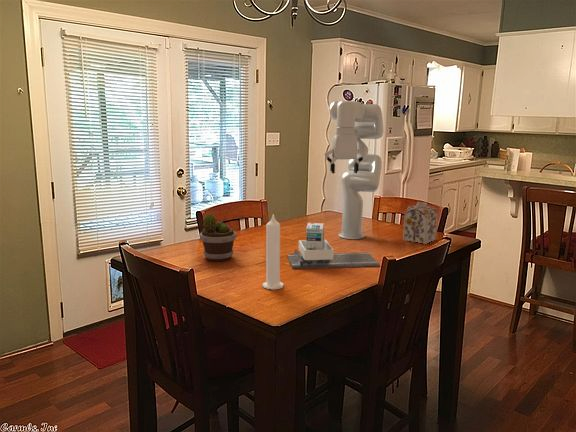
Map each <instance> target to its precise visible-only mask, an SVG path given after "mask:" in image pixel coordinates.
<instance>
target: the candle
mask: <svg viewBox="0 0 576 432" xmlns="http://www.w3.org/2000/svg"><path fill="white" fill-rule="evenodd" d="M265 226H266V229H265V230H266V231H265V232H266V234H265V235H266V242H265V243H266V251H265V252H266V253H265V255H266V258H265V259H266V266H265V267H266V281H264V282H263V283H262V288H264V289H265V288H266V290H269V289H271V290H270V291H274V290H276V289H277V290H281V289H283V288H284V283H283V282H282V281H281V275H280V274H281V265H280V264H281V261H280V260H281V224H280V223H279V221H277V220H276V217H275V214H274V213H273V214H272V216H271V219H270V221H268V222H267V223H266V225H265Z"/></svg>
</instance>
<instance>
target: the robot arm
mask: <svg viewBox="0 0 576 432" xmlns="http://www.w3.org/2000/svg"><path fill="white" fill-rule="evenodd" d="M329 115H330V118H331V119H332V120H335V121H336V134H334V136H333V140H332V148H331V149H330V150H328V151H326V152H324V153H323V155H324V157H325V159H326V161H328V163H330V172H331V174H335V173H336V164H335V162H336V161H337V160H348V162H347V168H348V170H347V171H344V173H342V175H341V187H342V188H341V189H342V210H341V211H342V215H341V218H342V219H341V231H339V232H338V237H339V238H342V239H345V240H346V239H347V240H361V239H364V238H365V237H366V235H365V233H363V232H362V231H363V209H364V208H363V207H364V203H363V202H364V200H363V198H362V195H360V192H361V193H362V192H364V193H375V192H377V191H378V189H379V186H380V182H381V181H380V180H381V173H382V158H381V157H380V155H378V154H371V153H370V154H369V148H368V146H367V145H366V143H365V142H364V141H363V140H362V139H364V140H378V139H381V138H382V136H384V135H383V134H384V121H383V112H382V108H381V106H380V105H379V104H377V103H375V104H374V103H361V102H360V101H356V100H355V101H354V100H351V101H350V100H346V101H345V100H343V101H341V100H339V101H338V100H337V101H336V100H334V101H332V103H331V104H330V105H329ZM329 155H331V156H332V158H331V157H330V156H329Z"/></svg>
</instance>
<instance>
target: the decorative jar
mask: <svg viewBox="0 0 576 432" xmlns="http://www.w3.org/2000/svg"><path fill="white" fill-rule="evenodd" d="M403 218H404V219H403V233H402V240H403V242H409V241H411V242H410V243H414V242H418V243H417V244H420V243H423V244H422V245H425V244H426V245H428V244H429V242H430V243H432V242H434V241H436V239H437V237H436V236H437V226H438V211H437V210H436V209H435V208H434V206H431V205H428V202H424V201H417V202H416V204H415V205H410V206H408V207H407V209H406V210H405V211H404V217H403ZM431 241H432V242H431ZM427 243H428V244H427Z"/></svg>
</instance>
